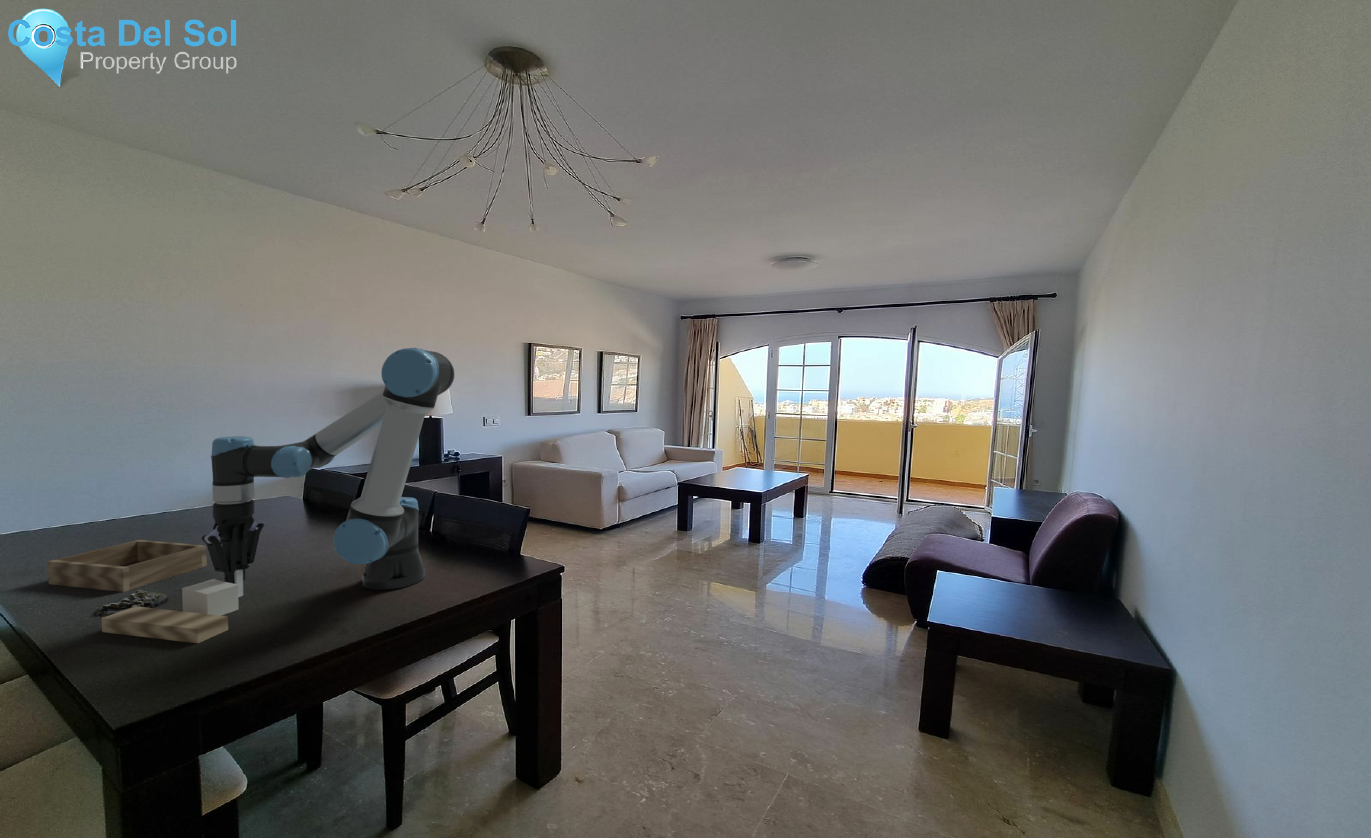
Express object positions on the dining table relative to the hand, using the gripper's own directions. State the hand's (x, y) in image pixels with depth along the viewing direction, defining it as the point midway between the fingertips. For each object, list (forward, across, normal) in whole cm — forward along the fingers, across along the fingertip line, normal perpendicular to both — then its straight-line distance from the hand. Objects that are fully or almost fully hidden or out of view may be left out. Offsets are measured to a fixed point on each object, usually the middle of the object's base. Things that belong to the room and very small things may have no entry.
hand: (235, 596), depth 124 cm
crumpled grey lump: (+2, +7, -20) cm, 22 cm away
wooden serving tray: (+2, -9, -44) cm, 45 cm away
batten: (+2, +15, 0) cm, 15 cm away
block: (+2, +5, 0) cm, 5 cm away
